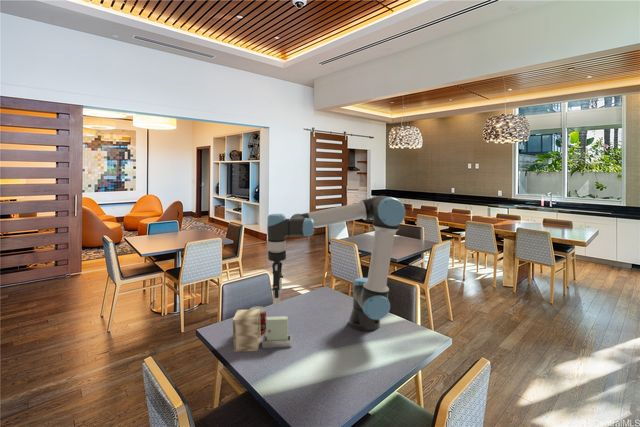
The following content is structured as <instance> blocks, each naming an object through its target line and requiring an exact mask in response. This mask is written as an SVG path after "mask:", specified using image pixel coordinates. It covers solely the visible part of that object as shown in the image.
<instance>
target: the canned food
mask: <svg viewBox="0 0 640 427" xmlns="http://www.w3.org/2000/svg"><path fill="white" fill-rule="evenodd" d="M250 309H260V335H261V336H262V335H264V334H266V333H267V324H266V320H267V309H266V307H265V306H261V305H260V306H259V305H258V306H257V305H256V306H253V307H250V308H249V309H248V310H250Z"/></svg>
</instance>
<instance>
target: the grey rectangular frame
mask: <svg viewBox="0 0 640 427" xmlns="http://www.w3.org/2000/svg"><path fill="white" fill-rule="evenodd" d="M261 342H262V344H261V345H262V346H261V347H262V349H268V348H292V347H293V335H292V334H288V340H286V341H267V335H263V337H262V341H261Z"/></svg>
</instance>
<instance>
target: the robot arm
mask: <svg viewBox="0 0 640 427" xmlns="http://www.w3.org/2000/svg"><path fill="white" fill-rule="evenodd" d="M405 218H406V208H405V205H404V203H403V202H402V201H400V199H397V198H395V197H392V196H387V195H377V196H374V197H369V198H365V199H362V200H359V202H357V203H351V204H347V205H341V206H337V207H331V208H326V209H321V210H315V211H310V212H305V213H295V214H293V215H292V216H291V217H290V218H286V215H285V214H284V213H271V214H269V215H268V216H267V224H266V226H267V242H266V246H267V250H268V251H267V258H268V260H269V261H271V262H272V267H271V268H272V277H273V278H272V288H271V289H270V290H271V291H272V293H273V294H272V295H273V297H272V298H273V299H272V300H273V306H281V294H282V293H283V287H282V286H283V284H282V279H283V278H284V275H282V270H283V269H282V268H283V263H282V262H283V261H285V260H286V259H287V251H286V249H287V248H286V247H287V243H286V242H287V239H286V237H311V236H314V231H315V228H321V227H325V226H330V225H335V224H342V223H345V222H351V221H355V220H361V219H362V220H363V221H369V220H372V227H373V228H374V234H373V241H372V247H371V253H370V260H369V266H368V273H367V277H359V278H355V279H354V280H353V285H352V288H353V291H352V293H353V294H352V297H353V299H352V301H353V302H352V310H351V313H350V316H349V322H348V323H349V326H350V327H351V328H354V329H355V330H359V331H367V332H369V331H370V332H371V331H375V330H377V329H378V328H379V327H380V326H381V324H380V323H381V319H383V318H384V317H386V316H387V315H388V314H389V313H390V310H391V303H390V301H389V300H390V299H389V293H390V288H389V287H388V285H387V284H388V276H389V270H390V265H391V264H390V263H391V257H392V250H393V246H394V238H395V234H396V233H397V232H398V231H399V230H400V226H401V225H400V224H401V223H402V222H403V221H404V219H405Z"/></svg>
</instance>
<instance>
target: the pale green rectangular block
mask: <svg viewBox="0 0 640 427" xmlns="http://www.w3.org/2000/svg"><path fill="white" fill-rule="evenodd" d="M288 318H289V317H288V315H287V316H283V315H282V316H281V315H280V316H266V336H267V341H286V340H288V335H289V333H288V332H289V325H288V324H289V323H288V321H289V319H288Z"/></svg>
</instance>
